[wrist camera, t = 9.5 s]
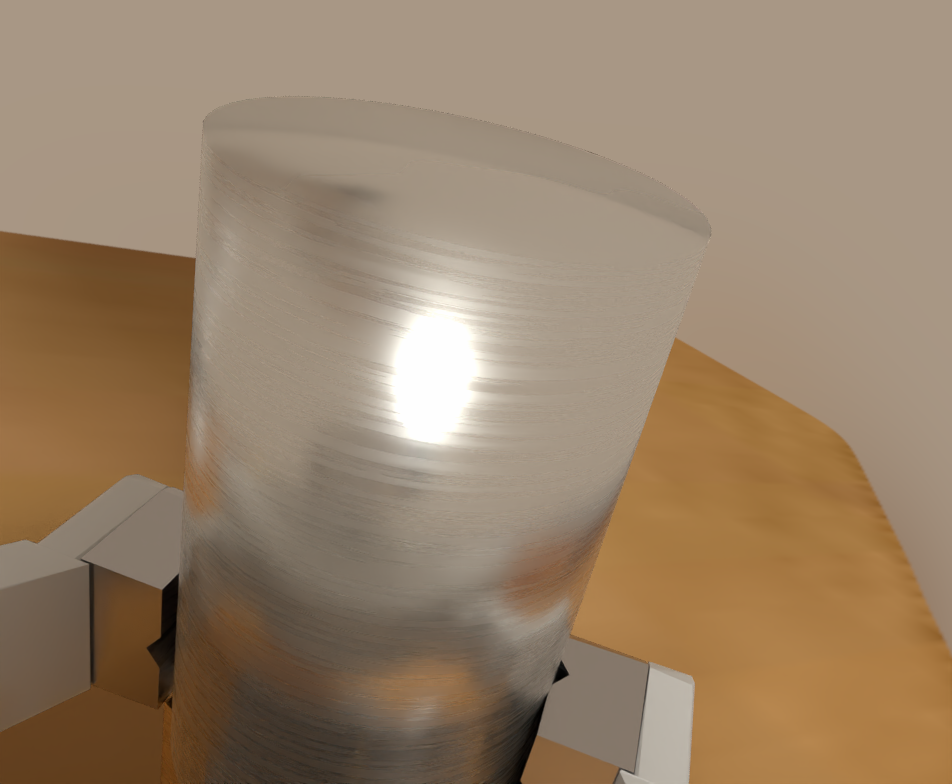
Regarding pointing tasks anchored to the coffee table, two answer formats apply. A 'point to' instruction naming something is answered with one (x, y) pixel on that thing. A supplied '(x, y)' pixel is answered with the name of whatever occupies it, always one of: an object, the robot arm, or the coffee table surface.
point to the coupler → (403, 433)
